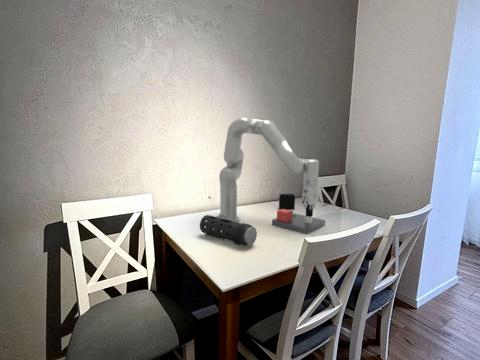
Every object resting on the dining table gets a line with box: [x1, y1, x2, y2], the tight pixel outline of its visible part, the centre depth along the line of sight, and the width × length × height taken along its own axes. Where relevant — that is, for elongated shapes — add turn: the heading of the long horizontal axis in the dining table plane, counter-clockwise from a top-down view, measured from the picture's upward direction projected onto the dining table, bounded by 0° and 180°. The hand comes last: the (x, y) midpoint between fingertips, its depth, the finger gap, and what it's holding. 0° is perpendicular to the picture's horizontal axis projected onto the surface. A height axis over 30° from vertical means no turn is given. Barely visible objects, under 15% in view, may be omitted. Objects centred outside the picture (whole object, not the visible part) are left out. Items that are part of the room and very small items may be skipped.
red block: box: [276, 209, 294, 222], centre depth 162 cm, size 6×6×5 cm
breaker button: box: [305, 216, 312, 224], centre depth 158 cm, size 3×3×4 cm
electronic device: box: [278, 193, 296, 211], centre depth 196 cm, size 4×10×10 cm, turn 89°
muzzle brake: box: [199, 214, 258, 247], centre depth 137 cm, size 10×28×10 cm, turn 53°
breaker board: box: [271, 212, 326, 235], centre depth 162 cm, size 20×22×4 cm
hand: (309, 216), depth 158 cm, fingers closed
